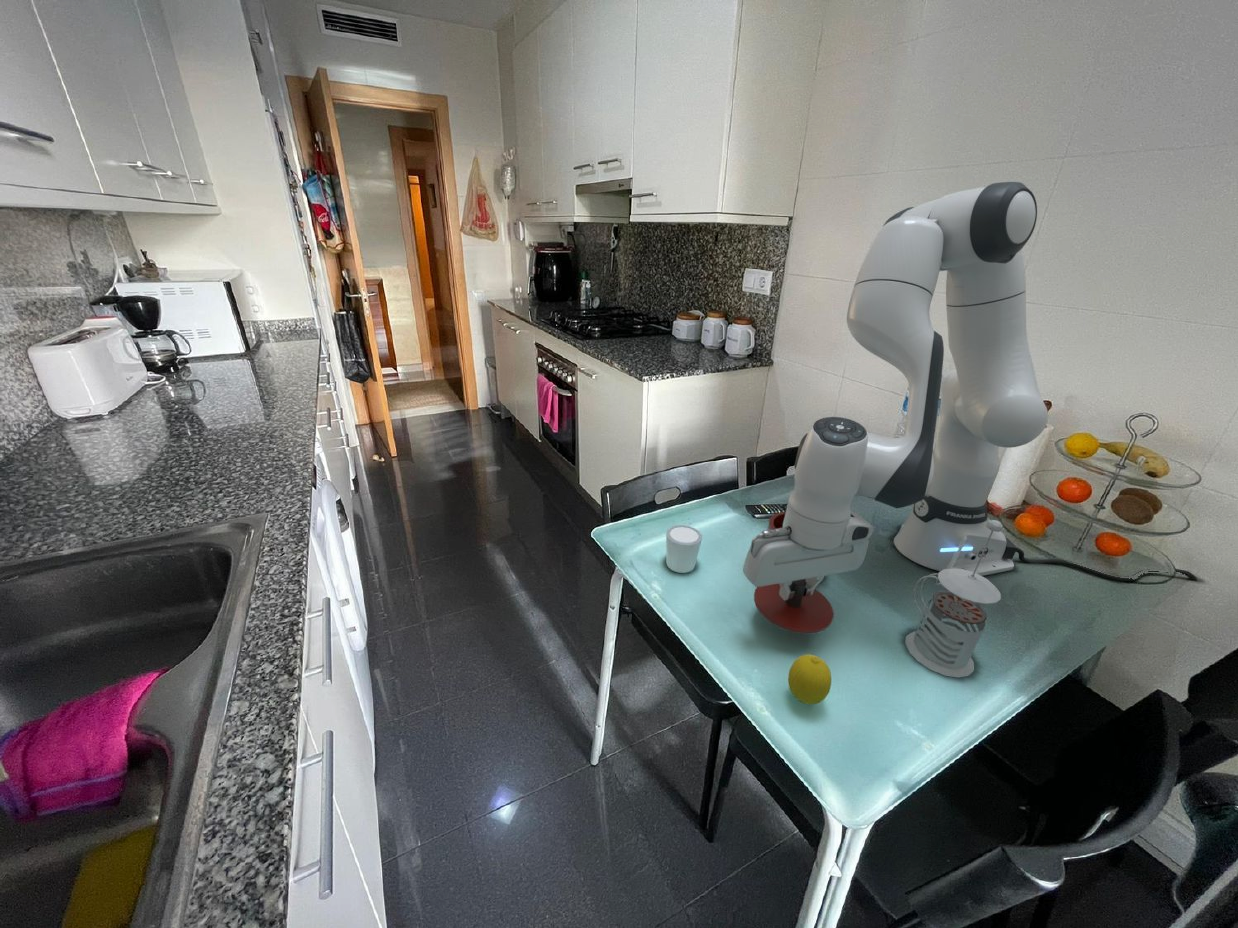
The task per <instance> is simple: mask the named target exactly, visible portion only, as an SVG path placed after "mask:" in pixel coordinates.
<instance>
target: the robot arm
mask: <svg viewBox="0 0 1238 928" xmlns="http://www.w3.org/2000/svg"><path fill="white" fill-rule="evenodd" d="M1037 218H1038V204H1037V199H1036V196H1035V195H1034V193H1033V192H1032V190H1031V189H1029V188H1028V187H1027V186H1026V184H1024V183H1023V182H1020V181H1001V182H993V183H991V184H988V185H987V186H983V187H981V186H980V187H977V188H976V187H974V188H969V189H964V190H961V191H956V192H952V193H948V194H944V195H943V196H941V197H939V198H936V199H933V200H930V201H926V202H924V203H922V204H919V205H917V206H911V207H910V206H909V207H907V208H904V209H902V210H900V211H898V212H897V213H895V214H893V215H892V216H889V218H888V219H887V220H886V221H885V222H884V223H883V225H882V227H881V228H880V229H879V230H878V232H877V233H876V235H875V237H874V238H873V241H872V242H871V244H870V246H869V249H867V250H868V251H867V252H866V255H865V256H864V259H863V261H862V263H861V265H860V268H859V271H858V273H857V276H856V279H855V282H854V285H853V288H852V292H851V295H850V299H849V302H848V308H847V311H846V312H847V313H846V325H847V328H848V330H849V333H850V334H851V336H852V337H853V339H854V340H855V341H856V342H857V343H858V344H859V345H860V346H861V347H862V348H864V349H865V350H866V351H868V352H869V353H871V354H872V355H875V356H876V357H877V358H880V359H881V360H884V361H885V362H887V363H888V364H890V365H892V366H893V367H894V368H896V369H897V370H898V371H899V372H901V374H902V375H903V376H904V377H905V378H906V380H907V382H908V388H909V389H908V399H907V406H906V416H905V423H904V430H903V434H902V436H899V437H891V436H885V435H881V434H877V433H873V432H868V431H867V429H866V428H865V427H864V426H863V425H862V424H860V423H859V422H857V421H855V420H853V419H850V418H846V417H841V416H840V417H839V416H827V417H822V418H819V419H816V420H815V421H814V422H812V424H811V426H810V428H809V430H808V432H807V433H805V435H803V437H802V438H801V439H800V442H799V444H798V449H797V453H796V457H795V460H794V461H795V462H794V469H795V471H794V474H793V475H794V477H793V478H794V487H793V490H792V492H791V493H790V495H789V497H788V500H787V505H786V510H785V512H786V513H785V518H784V522H783V528H778V529H774V530H767V529H765V530H762V531H761V533H759V534H757V535H756V536H754V537H753V538H752V540H751V543H750V546H749V549H748V551H747V553H746V557H745V559H744V563H743V566H742V572H743V575H744V576H745V578H746V579H747V580H748V581H749V583H751V584H752V586H753V587H755V588H757V587H762V586H768V585H773V584H780V586H781V587H780V591H779V595H780V596H781V598H782V599H783V600H789V599H793V595H794V593H795V591H794V590H793V589H792V588H791V587H790V586H789V585H791V584H792V581H796V580H802V579H806V580H805V581H806V582H807V584H806V588H805V592H804V595H803V596H810V595H813V592H814V589H816V588H817V587H818V586H819V585H820V584H821V582H822V581H823V580H824V578H825V576H830V575H835V574H841V573H847V572H853V571H856V570H857V569H859V568H860V567H861V566H862V565H863V563H864V560H865V559H866V555H867V552H868V548H869V545H870V544H869V543H870V540H869V539H870V537H872V535H873V533H874V526H873V525H872V524H871V523H870V522H868V521H867V520H866V519H864V518H863V517H861V515H859V514H858V513H856V512H855V511H853V510H852V501H853V499H854V497H855V496H856V495H859V496H863V497H867V498H870V499H873V500H874V501H875V502H879V503H881V504H885V505H887V506H889V507H892V508H895V509H901V508H907V507H910V506H912V505H913V506H912V508H911V510H910V512H909V514H908V516H907V518H906V519H905V521H904V523H903V524H902V525H901V526H900V528H899V531H898V532H897V534H896V536H894V538H893V544H894V546H895V548H896V549H897V551H899V553H900V554H902V555H903V556H904V557H906V558H907V559H909V560H910V561H913V562H914V563H916V564H918V565H921V566H923V567H925V568H927V569H931V570H935V571H937V572H940V571H942V570H943V569H950V568H957V569H964V570H968V571H971V572H974V570H975V568H976V565H977V563H978V561H979V559H980V556H981V554H982V552H983V549H984V547H985V545H986V543H987V540H988V538H989V536H990V533H991V531H992V530H990V529H988V528H987V527H986V524H987V522H988V521H990V520H991V519H990V518H989V516H988V515H989V514H988V513H989V512H991V514H992V515H994V516H999V515H1000V514H1002V513H1003V511H1004V508H1003V506H1001V505H999V504H997V502H994V501H993V502H990V501H988V498H989V495H990V492H991V491H992V488H993V485H994V483H995V481H996V479H997V476H998V474H999V472H1000V466H1001V464H1000V463H1001V461H1000V453H999V449H1000V448H1006V449H1007V448H1017V447H1021V446H1024V445H1027V444H1029V443H1031V442H1032V441H1034V440H1036V439H1037V438H1038V437H1039V436H1040V435H1041V434H1042V433H1043V432H1044V430H1045V429H1046V426H1047V424H1048V421H1049V411H1048V408H1047V406H1046V404H1045V402H1044V400H1043V398H1042V396H1041V393H1040V389H1039V386H1038V381H1037V376H1036V371H1035V367H1034V364H1033V358H1032V355H1031V351H1030V346H1029V341H1028V335H1027V334H1028V333H1027V286H1026V285H1027V283H1026V281H1027V279H1026V270H1025V269H1026V267H1025V261H1024V256H1023V251H1022V249H1023V248H1024V247H1025V245H1026V244H1027V243H1028V241H1029V240H1030V238H1031V237H1032V235H1033V233H1034V230H1035V227H1036V224H1037ZM940 272H946V279H945V305H946V322H947V323H946V324H947V339H948V340H947V341H948V349H949V352H950V354H951V356H952V357H951V358H952V360H953V363H954V367H955V368H954V369H953V370H951V371H950V372H948V373H947V375H946V376H945V377H944V378H943V368H944V357H945V355H944V354H945V347H944V346H945V345H944V340H943V336H942V335H941V334H939V332H938V331H935V330H934V328H933V325H932V323H931V316H930V310H931V309H930V308H931V304H932V300H933V297H934V293H935V290H936V287H937V284H938V279H939V275H940ZM939 405H940V408H939ZM935 433H936V434H935ZM935 435H936V436H935ZM934 441H935V443H934ZM999 447H1000V448H999ZM1016 553H1018V560H1019V561H1021V562H1022V563H1025V564H1032V565H1033V564H1034V565H1035V564H1037V565H1041V564H1042V565H1048V564H1049V565H1050V564H1055V565H1056V564H1058V565H1064V566H1069V567H1072V568H1076V569H1079V570H1082V571H1085V572H1088V573H1091V574H1094V575H1096V576H1100V577H1103V578H1106V579H1108V580H1109V579H1110V580H1114V581H1121V582H1132V581H1137V580H1136V579H1135V580H1133V579H1132V578H1130V579H1129V578H1120V577H1115V576H1111V575H1107V574H1104V573H1105V572H1104V573H1101V572H1102V571H1101V572H1098V571H1099V570H1098V571H1095V570H1096V569H1095V570H1092V569H1093V568H1092V569H1089V568H1086V567H1083V566H1080V565H1077V564H1078V563H1077V564H1073V563H1069V562H1065V560H1066V559H1058V558H1050V559H1049V558H1048V559H1037V560H1034V559H1028V558H1025V552H1024V550H1022V549H1021V548H1019V547H1018V546H1017V545H1015V544H1014V543H1013V542H1012V540H1010V539H1009V538H1008V537H1007V536H1006V535H1005V534H1004V533H1003V532H1002V531H1001V532H996V531H993V533H992V536H991V538H990V540H989V543H988V545H987V547H986V549H985V552H984V554H983V556H982V558H981V561H980V563H979V565H978V568H977V570H976V572H975V573H977V574H978V575H980V576H982V577H984V576H988V575H994V574H1001V573H1004V572H1010V571H1013V570H1014V567H1015V564H1014V561H1013V558H1014V556H1015V554H1016ZM1174 569H1175V570H1176V572H1180V573H1182V574H1181V575H1183V576H1186V577H1188V579H1190V580H1191V581H1194V582H1198V578H1197V576H1195V574H1193V573H1192V572H1190V571H1189V570H1184V569H1181V568H1174ZM1143 570H1144V569H1142V570H1140V571H1138V572H1137V573H1139V572H1141V571H1143ZM1148 570H1150V569H1149V568H1148ZM1148 572H1159V571H1148ZM1137 573H1136V572H1135V574H1133V575H1132V576H1134V575H1136V574H1137ZM1184 574H1185V575H1184ZM1143 576H1146V575H1145V573H1143V575H1142V574H1141V575H1140V576H1138V577H1140V578H1141V577H1143ZM1127 577H1129V576H1127Z"/></svg>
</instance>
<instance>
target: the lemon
mask: <svg viewBox="0 0 1238 928" xmlns="http://www.w3.org/2000/svg"><path fill="white" fill-rule="evenodd" d="M787 683H788V687H789V690H790V692H791V694H792V695H793V696H794V698H795V699H796V700H798V701H799V702H801V703H803V704H806V705H817V704H820V703H822V702H823V701H824V700H825V699H826V698H827V696H828V695H829V694H830V692H831V686H832V673H831V669H830V667H829V666H828V664H827V663H826V662H825V661H824V660H823V659H822V658H821V657H818V656H817V655H814V654H803V655H801V656H799V657H797V658H796V659H795V661H793V663H792V665H791V666H790V668H789V671H788V677H787Z"/></svg>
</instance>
